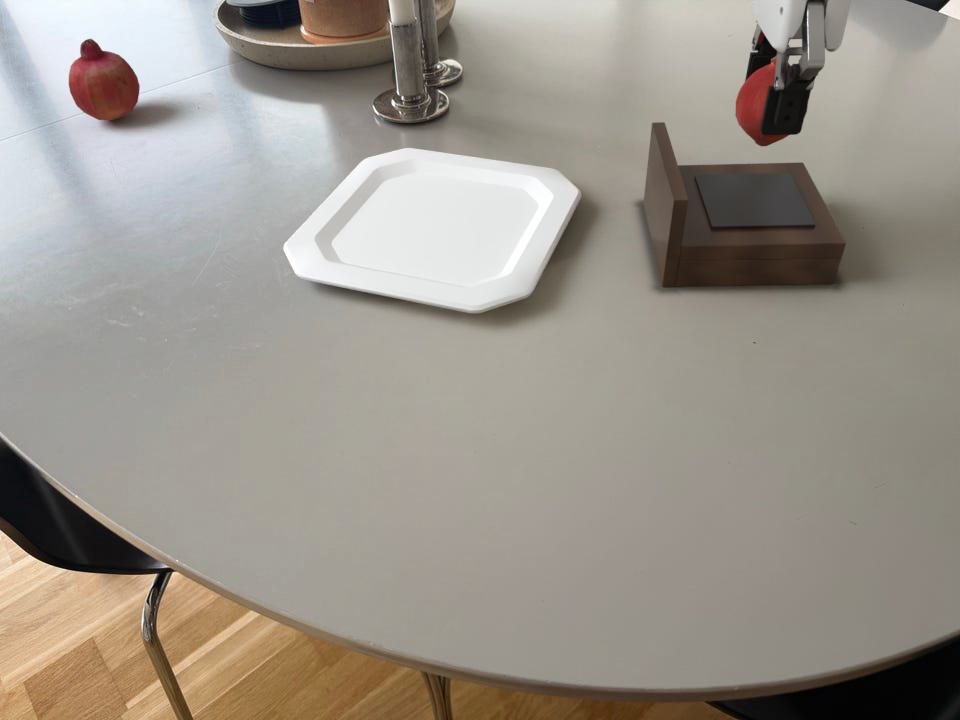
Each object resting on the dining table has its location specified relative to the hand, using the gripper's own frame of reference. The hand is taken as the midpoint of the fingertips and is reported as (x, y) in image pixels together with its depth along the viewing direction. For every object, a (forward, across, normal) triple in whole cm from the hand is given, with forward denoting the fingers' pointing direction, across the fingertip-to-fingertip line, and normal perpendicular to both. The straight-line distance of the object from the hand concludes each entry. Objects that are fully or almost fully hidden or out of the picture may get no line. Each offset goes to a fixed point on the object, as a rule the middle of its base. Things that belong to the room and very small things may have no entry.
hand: (770, 112), depth 69 cm
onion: (+3, 0, 0) cm, 3 cm away
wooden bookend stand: (+13, 0, 0) cm, 13 cm away
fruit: (+13, +30, +72) cm, 80 cm away
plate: (+13, +2, +30) cm, 32 cm away
